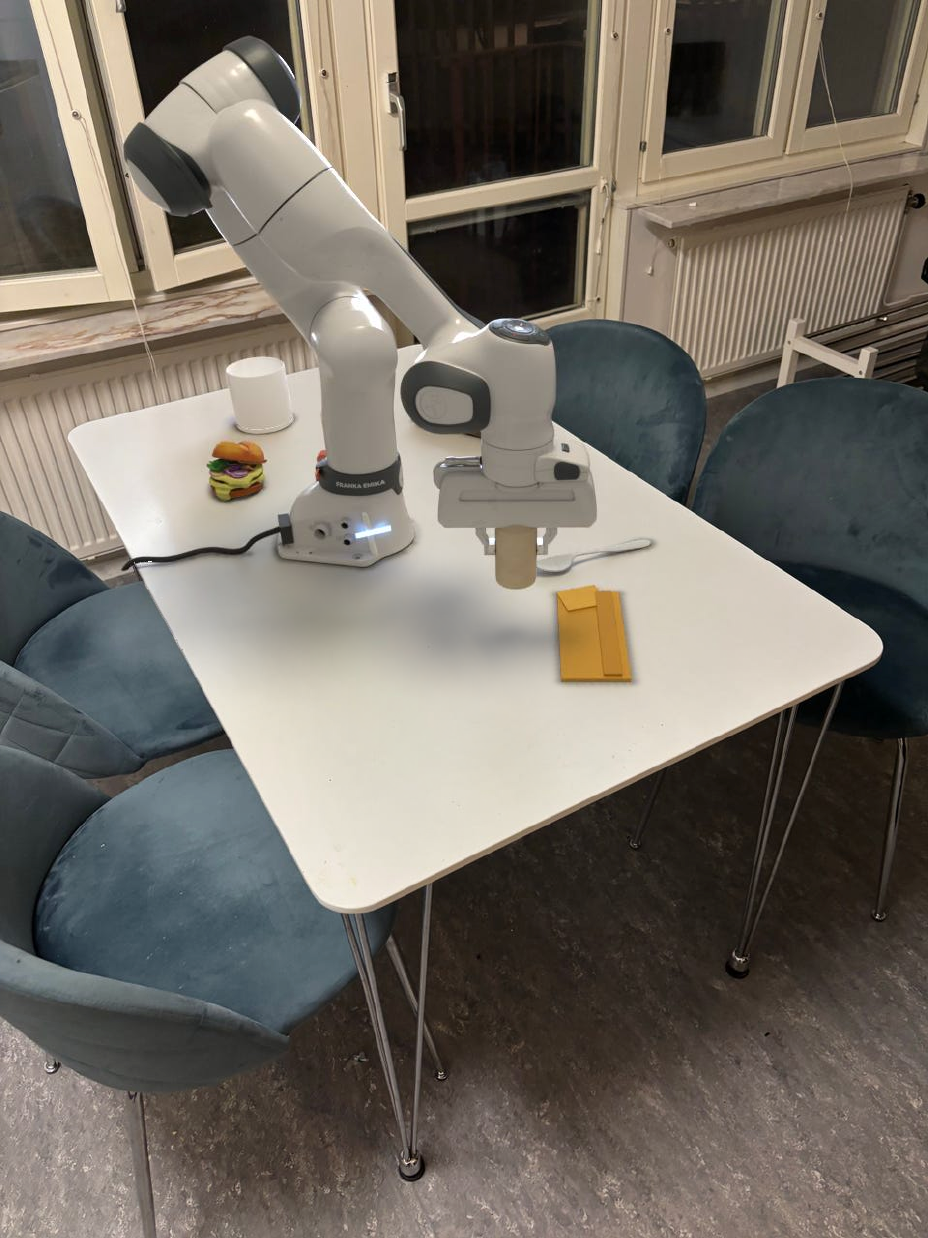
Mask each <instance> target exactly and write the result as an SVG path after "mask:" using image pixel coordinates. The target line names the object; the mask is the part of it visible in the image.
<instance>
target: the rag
mask: <svg viewBox="0 0 928 1238" xmlns="http://www.w3.org/2000/svg"><path fill="white" fill-rule="evenodd" d="M556 603H557V604H556V605H557V621H558V622H557V624H558V641H559V643H558V644H559V660H560V661H559V663H560V680H561V682H632V674H631V668H630V667H631V666H630V660H629V654H628V646H627V640H626V634H625V633H626V632H625V626H624V621H623V614H622V613H623V612H622V606H621V598H620V593H619V591H615V590H614V591H612V590H599V589H598V588H597V586H596V585H595V584H592V585H587V586H580V587H575V588H570V589H565V590H560V591H556Z"/></svg>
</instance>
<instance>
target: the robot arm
mask: <svg viewBox="0 0 928 1238" xmlns="http://www.w3.org/2000/svg"><path fill="white" fill-rule="evenodd" d="M301 93H302V92H301V90H300V88H299V85H298V83H297V81H296V79H295V76H294V74H293V73H292V70H291V68H290V66H289V65H288V64H287V62H286V61H285V60H284V59H283V58H282V57H281V55H280V54H279V53H277V52H276V50H275V49H274V48H273V47H272V46H271V45H270V44H268V43H267V42H266V41H264V40H263V39H260V38H257V37H255V36H252V35H246V36H242V37H240V38H238V39H236V40H234V41H232V42H229V43H228V44H226V45H225V46H224V47H223V48H222V52H220V53H218V54H216V55H214V56H213V57H211V58H210V59H208V60H207V61H205V62H204V63H202V64H200V65H199V66H198V67H196V68H194V70H192V71H191V72H189V74H188V75H186V76H184V77H183V78H182V79H181V80H180V81H179V82H178V85H177V86H176V87H175V88H174V89H173V90H172V91H171V92H170V93H169V94H167V96H165V98H164V99H163V100H162V101H160V103H158V104H157V106H156V107H155V108H154V109H153V110H152V111H151V112H150V113H149V114H148V116H147V117H146V118H145V119H144V121H142V122H141V121H138V122H137V123H136V124H135V125H134V127H133V128H132V130H130V133H129V134H128V135H127V137H126V138H125V140H124V142H123V146H122V148H123V159H124V161H125V163H126V164H127V167H128V170H129V173H130V176H131V178H132V180H133V181H134V183H135V185H136V187H137V188H138V189H139V190H140V192H141V193H142V195H143V196H145V198H147V199H148V200H149V202H151V203H152V204H154V205H155V206H157V207H159V208H160V209H162V210H164V211H165V212H166V213H168V214H169V215H170V216H177V217H188V216H192V215H194V214H196V213H198V212H201V211H203V210H205V211H206V214H207V215H208V217H209V218H210V219H211V221H212V223H213V224H214V225H215V227H216V229H217V230H218V232H219V233H220V234H221V236H222V237H223V239H224V240H225V241H226V243H227V244H228V245H229V246H230V248H231V249H232V250H233V251H234V253H235V254H236V255H237V257H238V258H239V260H241V262H242V263H243V265H244V266H245V267H246V268H247V270H248V271H249V273H250V274H251V275H252V276H253V278H254V279H255V281H256V282H257V283H258V284H259V285H260V287H261V288H262V289H263V291H264V292H265V294H267V296H268V297H269V298H270V299H271V300H272V301H273V302H274V303H275V304H276V306H277V307H278V308H279V309H280V311H281V312H283V314H284V316H285V317H286V318H287V319H288V320H289V321H290V322H291V324H292V325H293V326H294V328H296V330H297V331H298V332H299V334H300V335H301V336H302V338H303V339H304V340H305V341H306V343H307V345H308V346H309V348H310V350H311V351H312V353H313V355H314V357H315V360H316V362H317V367H318V373H319V384H320V405H321V407H320V421H321V427H322V428H321V429H322V434H323V443H324V449H321V450H320V451H319V452H318V455H317V457H316V465H315V472H314V476H315V481H314V482H313V483H312V484H311V485H309V486H308V487H307V488H305V489H304V490H302V491H301V492H300V493H299V494H298V495H297V497H296V498H295V499H294V501H293V504H292V505H291V507H290V511H289V512H287V513H279V514H277V522H278V526H276V527H273V528H271V529H268V530H267V529H266V530H264V531H263V532H260V533H258V534H256V535H254V536H253V537H251V538H250V539H249V540H248V541H247V543H246V544H245V545H244V546H242V547H239V548H229V547H222V546H220V547H219V546H206V547H200V548H195V549H192V550H188V551H184V552H181V553H177V554H173V555H168V556H147V555H145V556H137V557H133V558H131V559H132V560H131V559H129V560H128V561H126V563H124V565H122V567H121V569H120V571H121V572H126V571H128V570H129V569H130V568H132V567H133V566H134V565H137V564H141V563H143V564H144V563H149V562H148V561H152V562H151V563H155V564H164V563H165V564H166V563H172V562H176V561H181V560H185V559H188V558H191V557H195V556H199V555H204V554H214V553H215V554H223V555H242V554H244V553H246V552H249V550H250V549H251V548H252V547H253V546H254V545H255V544H256V543H257V542H259V541H261V540H263V539H265V538H268V537H270V536H273V535H276V534H278V536H277V542H276V544H277V547H276V548H277V552H278V555H279V557H280V558H282V559H283V560H284V559H285V560H292V561H293V560H294V561H302V562H310V563H311V562H312V563H322V564H330V565H331V564H332V565H341V566H349V567H350V566H351V567H360V568H366V567H370V566H371V565H373V564H375V563H376V562H378V561H379V560H381V559H383V558H385V557H387V556H391V555H394V554H396V553H398V552H400V551H402V550H403V549H405V548H407V547H408V546H409V545H410V544H411V543H412V541H413V540H414V538H415V536H416V530H415V528H414V525H413V523H412V520H411V518H410V515H409V511H408V508H407V505H406V500H405V496H404V485H405V483H404V468H403V463H402V458H401V454H400V453H399V451H398V447H397V446H398V445H397V443H398V442H397V433H396V432H397V431H396V422H395V409H394V408H395V390H396V375H397V371H396V370H397V368H398V361H399V360H398V359H399V355H398V346H397V342H396V338H395V334H394V332H393V330H392V328H391V326H390V325H389V324H388V322H387V321H386V320H385V318H384V317H383V316H382V315H381V314H380V312H379V311H378V310H377V308H376V306H374V304H373V303H372V302H371V300H370V299H369V298H368V296H367V294H365V292H364V291H363V289H364V290H366V291H369V292H370V293H372V295H375V296H376V297H377V298H378V299H380V300H381V301H382V302H383V304H384V305H385V306H386V307H387V308H388V309H389V310H390V311H391V312H392V313H393V314H394V315H395V316H396V317H397V319H399V321H400V322H401V323H402V324H403V325H404V326H405V327H406V328H407V329H408V330H409V331H410V332H411V333H412V334H413V336H414V337H415V338H416V339H417V340H418V341H419V343H420V345H421V347H422V350H423V352H421V353H420V354H419V356H418V357H416V359H415V360H414V361H413V362H412V364H411V365H410V367H409V368H408V369H407V371H406V372H405V374H404V375H403V377H402V380H401V382H400V389H399V390H400V391H399V393H400V394H399V395H400V401H401V404H402V407H403V409H404V411H405V413H406V415H407V416H408V417H409V419H410V420H411V421H412V422H413V423H414V424H415V425H416V426H417V427H419V428H420V429H422V430H424V431H426V432H428V433H431V434H433V435H434V434H435V435H462V434H467V433H473V432H478V431H481V437H480V444H481V445H480V449H481V450H480V452H481V455H480V456H477V455H476V456H461V457H456V456H447V457H444V459H442V460H441V461H438V462H437V463H436V464H435V465H434V468H433V471H432V473H433V483H434V486H435V487H436V488H437V489H438V490H439V493H438V501H437V502H438V503H437V522H438V523H439V524H440V525H441V526H442V527H443V528H444V529H474V530H475V536H476V538H478V540H479V542H480V543H481V545H483V555H484V556H495V537H490V536H489V535H488V533H487V529H495V528H504V527H508V526H510V525H515V524H516V525H521V526H525V527H528V528H537V529H542V528H543V529H545V533H544V535H542V537H537V556H548V555H549V545H551V543H552V541H553V540H554V539H555V538H556V536H557V535H558V528H559V529H560V528H561V529H562V528H563V529H564V528H565V529H567V528H569V529H570V528H571V529H572V528H573V529H574V528H579V529H580V528H585V529H587V528H591V527H592V526H593V525H594V524H595V523H596V522H597V519H598V518H597V517H598V508H597V506H598V505H597V496H596V489H595V481H594V478H593V473H592V471H591V469H590V466H591V461H590V456H589V453H588V450H587V448H586V446H585V444H583V443H581V442H578V441H575V440H572V439H568V438H565V437H562V436H560V435H559V436H558V435H555V428H554V424H553V420H552V419H553V418H552V417H553V411H554V408H555V405H556V400H557V399H556V397H557V370H556V369H557V367H556V356H555V351H554V344H553V341H552V339H551V337H550V335H549V334H548V333H547V332H546V331H545V330H544V329H543V328H541V327H540V326H538V325H537V324H535V323H534V322H531V321H528V320H524V319H520V318H511V317H510V318H498V319H494V320H491V321H490V322H489V323H488V324H486V323H484V322H483V321H482V320H480V319H478V318H477V317H474V316H473V315H471V314H470V313H468V312H467V311H465V310H463V309H462V308H461V307H460V306H459V305H457V304H456V302H454V300H452V299H451V297H450V296H448V294H447V292H445V291H444V290H443V289H442V287H441V286H440V285H439V284H438V283H437V282H436V281H435V280H434V279H433V278H432V276H431V275H430V274H429V273H428V272H427V271H426V270H425V269H424V268H423V267H422V265H420V264H419V262H418V261H417V260H416V258H415V257H414V256H413V255H412V254H411V253H410V252H409V251H408V250H407V249H406V248H405V247H404V246H403V245H402V244H401V243H400V242H399V241H398V240H397V239H396V238H395V237H394V236H393V235H392V234H391V233H390V232H389V230H387V229H386V228H385V227H384V226H383V225H382V224H381V223H380V222H379V221H378V220H377V219H376V218H375V216H374V215H372V214H371V212H370V211H369V210H368V209H367V208H366V207H365V206H364V204H363V203H362V202H361V201H360V200H359V198H358V197H357V196H356V195H355V193H353V191H352V190H351V189H350V187H349V186H348V185H347V184H346V183H345V181H344V180H343V179H342V177H340V175H339V174H338V172H337V171H336V170H335V169H334V168H333V166H332V165H331V164H330V163H329V161H328V160H327V158H326V157H325V156H324V155H323V154H322V153H321V152H320V151H319V150H318V148H317V147H316V146H315V145H314V144H313V143H312V142H311V140H309V139H308V138H307V137H306V136H305V134H303V132H302V131H301V130H300V129H299V128H298V127H297V126H295V124H296V122H297V121H298V119H299V117H300V116H301V111H302V110H301V109H302V94H301ZM134 562H135V564H134ZM140 562H141V563H140Z"/></svg>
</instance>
